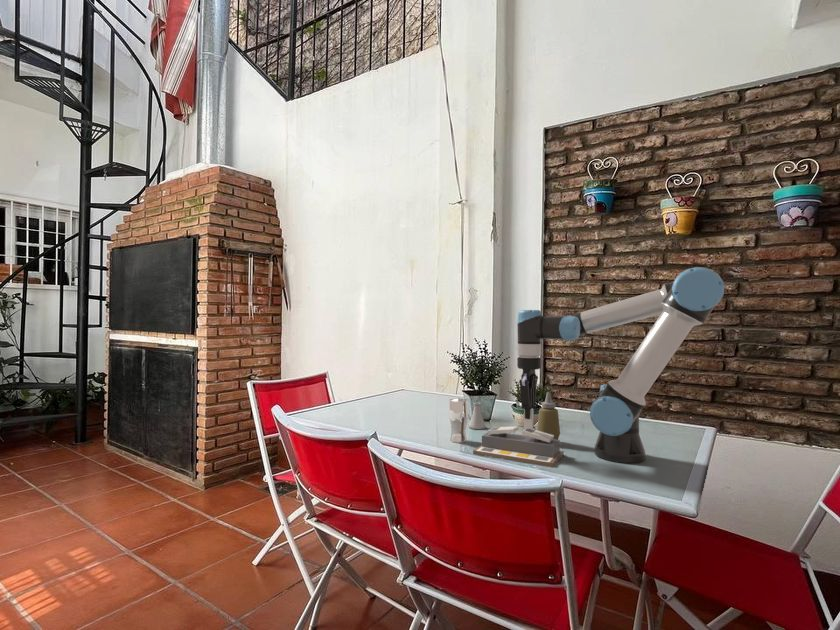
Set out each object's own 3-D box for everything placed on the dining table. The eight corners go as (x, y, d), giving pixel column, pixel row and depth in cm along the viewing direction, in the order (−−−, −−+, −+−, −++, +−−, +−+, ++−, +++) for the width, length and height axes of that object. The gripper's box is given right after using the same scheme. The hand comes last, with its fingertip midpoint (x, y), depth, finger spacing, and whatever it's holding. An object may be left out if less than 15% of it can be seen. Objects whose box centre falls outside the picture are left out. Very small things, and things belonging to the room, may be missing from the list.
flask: (472, 430, 183) (472, 405, 183) (465, 426, 190) (465, 402, 190) (489, 429, 185) (489, 404, 185) (481, 425, 192) (481, 401, 192)
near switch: (553, 439, 150) (554, 435, 149) (549, 442, 145) (550, 438, 145) (526, 430, 154) (527, 427, 154) (522, 434, 150) (522, 430, 150)
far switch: (518, 429, 155) (517, 425, 156) (513, 432, 151) (512, 429, 151) (493, 431, 160) (492, 427, 160) (488, 434, 156) (487, 430, 156)
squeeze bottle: (563, 442, 166) (563, 392, 166) (556, 447, 159) (556, 395, 159) (541, 438, 170) (541, 390, 170) (533, 443, 164) (533, 393, 164)
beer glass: (452, 444, 163) (452, 401, 163) (446, 439, 170) (446, 398, 170) (471, 442, 165) (471, 400, 165) (464, 437, 172) (464, 397, 172)
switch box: (563, 454, 150) (563, 437, 150) (552, 467, 138) (552, 448, 138) (488, 443, 163) (489, 427, 163) (473, 453, 151) (473, 436, 151)
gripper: (523, 354, 159) (523, 422, 159) (511, 357, 147) (511, 431, 147) (545, 355, 155) (545, 425, 155) (534, 358, 144) (534, 434, 144)
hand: (528, 428), depth 151 cm, fingers closed
